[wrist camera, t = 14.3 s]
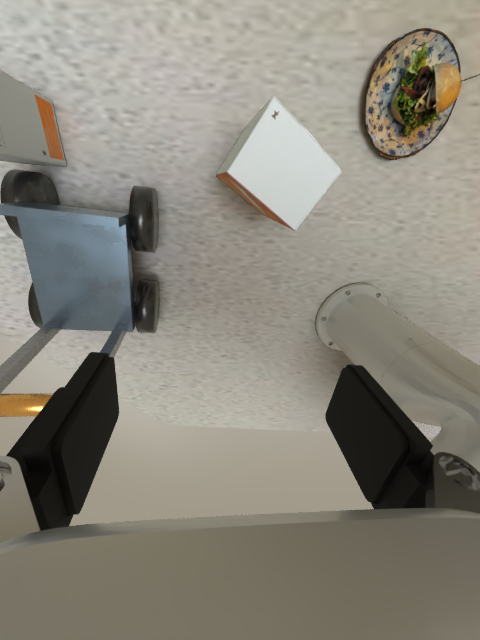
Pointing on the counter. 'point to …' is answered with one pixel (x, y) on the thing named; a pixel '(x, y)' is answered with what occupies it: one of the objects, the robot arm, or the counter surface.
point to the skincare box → (27, 126)
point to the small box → (279, 166)
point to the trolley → (77, 271)
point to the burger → (412, 92)
